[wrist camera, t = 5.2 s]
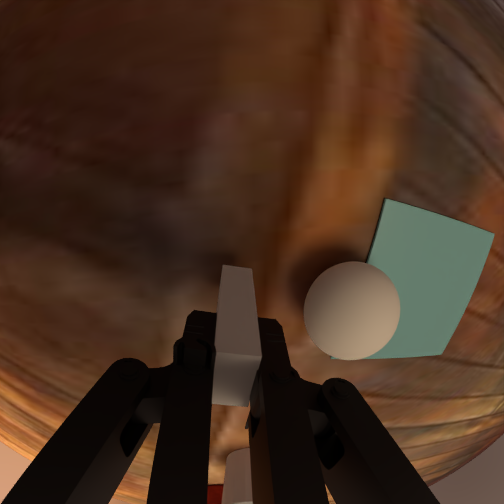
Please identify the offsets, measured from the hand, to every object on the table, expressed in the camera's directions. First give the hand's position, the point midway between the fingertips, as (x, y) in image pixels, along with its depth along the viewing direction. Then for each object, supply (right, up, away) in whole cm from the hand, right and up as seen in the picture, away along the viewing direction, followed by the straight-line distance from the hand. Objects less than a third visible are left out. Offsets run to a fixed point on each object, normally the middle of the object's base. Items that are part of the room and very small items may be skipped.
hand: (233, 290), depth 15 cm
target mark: (+14, -1, +3) cm, 14 cm away
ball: (+6, -1, 0) cm, 7 cm away
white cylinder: (+1, -21, +11) cm, 24 cm away
